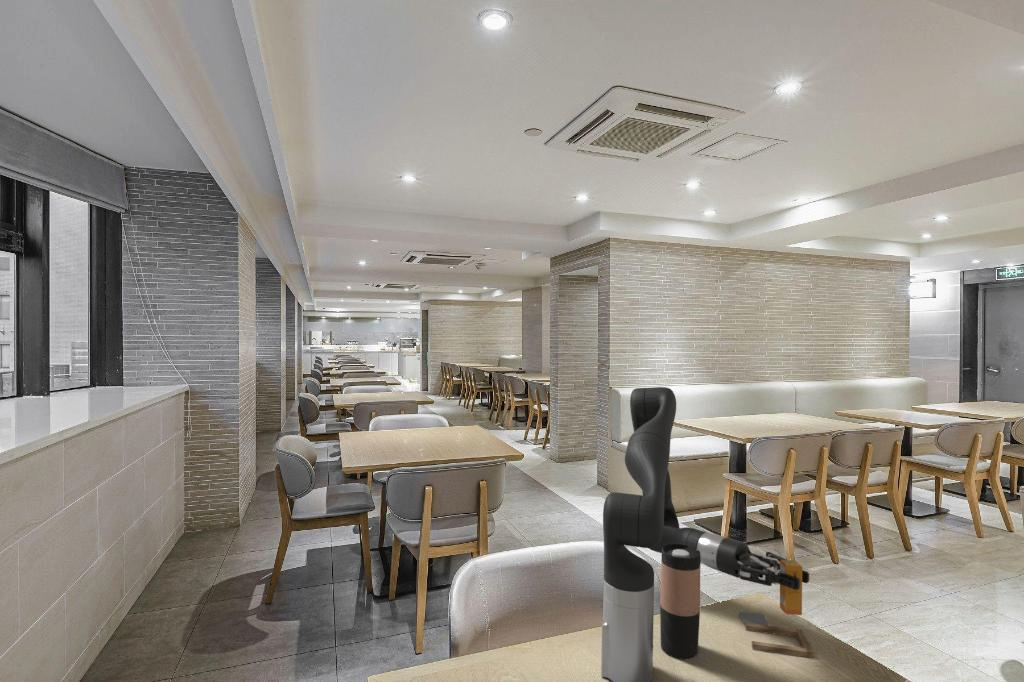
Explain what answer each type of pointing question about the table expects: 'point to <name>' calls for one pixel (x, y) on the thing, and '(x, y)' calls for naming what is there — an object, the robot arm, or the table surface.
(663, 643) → the travel mug
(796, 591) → the supplement box
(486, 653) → the table surface
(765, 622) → the coaster
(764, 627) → the wooden u-shaped frame
